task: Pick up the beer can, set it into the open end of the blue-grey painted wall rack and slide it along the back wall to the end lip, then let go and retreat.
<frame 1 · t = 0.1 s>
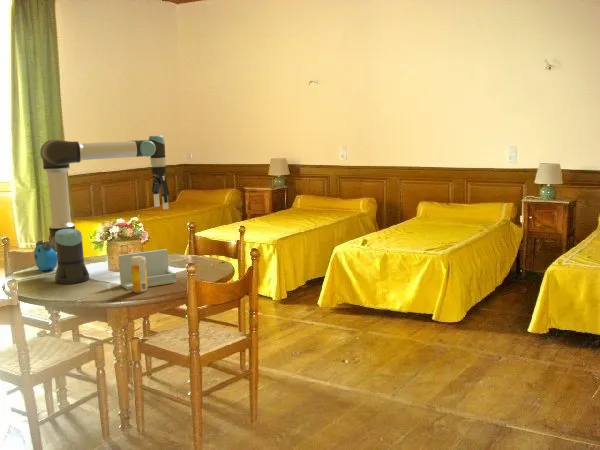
hand: (161, 207, 339), 28 cm above the table, fingers open, 13 cm apart
alarm clock: (46, 270, 332), on the table
beer can: (140, 291, 283), on the table
rack: (148, 283, 296), on the table
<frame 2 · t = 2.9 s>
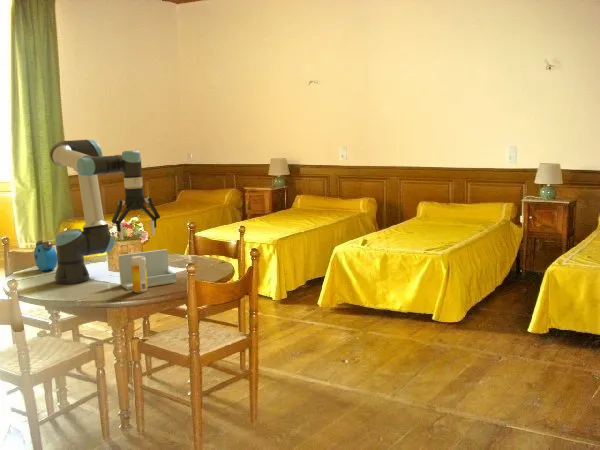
hand: (137, 237, 281), 23 cm above the table, fingers open, 13 cm apart
nothing on the table moved.
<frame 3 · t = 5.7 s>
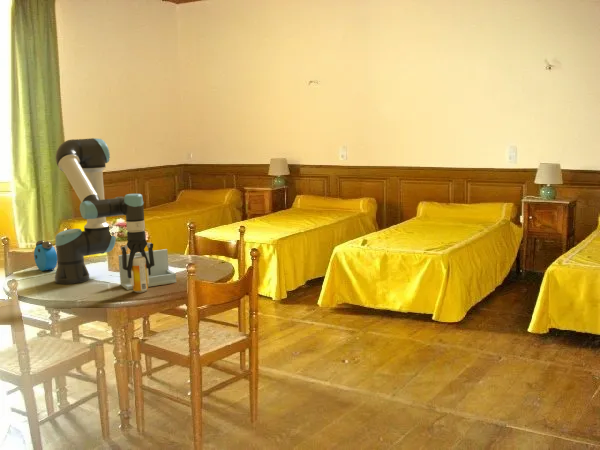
hand: (139, 284, 283), 3 cm above the table, fingers closed on beer can, 6 cm apart
beer can: (140, 291, 284), on the table, touching gripper
everything else where it was.
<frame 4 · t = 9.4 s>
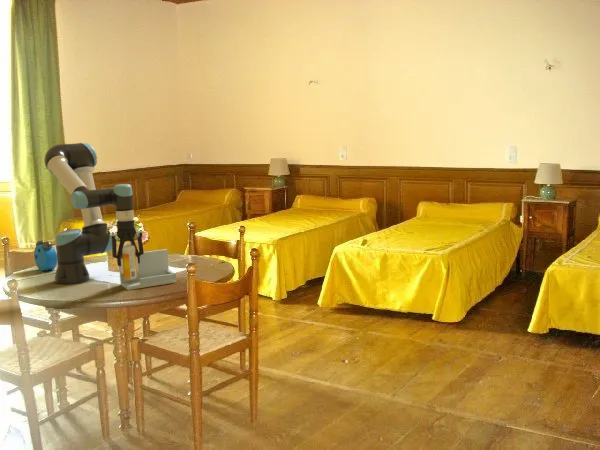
hand: (129, 271, 292), 6 cm above the table, fingers closed on beer can, 6 cm apart
beer can: (130, 279, 292), point 3 cm above the table, touching gripper
everything else where it was.
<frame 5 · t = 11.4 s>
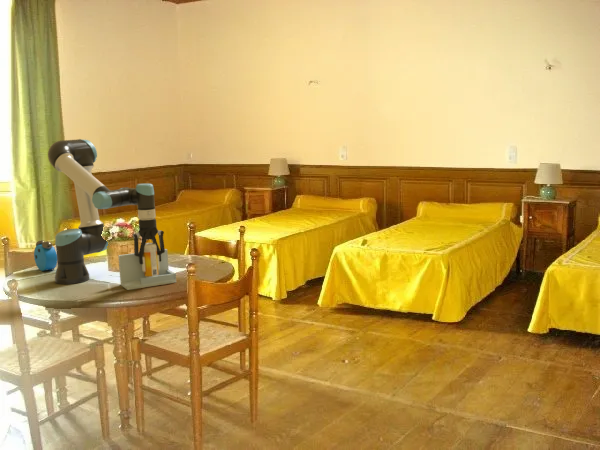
hand: (151, 269, 296), 6 cm above the table, fingers closed on beer can, 6 cm apart
beer can: (151, 277, 297), point 3 cm above the table, touching gripper
everything else where it was.
when the fingers open (6 cm above the table, at t = 13.3 s): beer can drops 1 cm, resting on rack.
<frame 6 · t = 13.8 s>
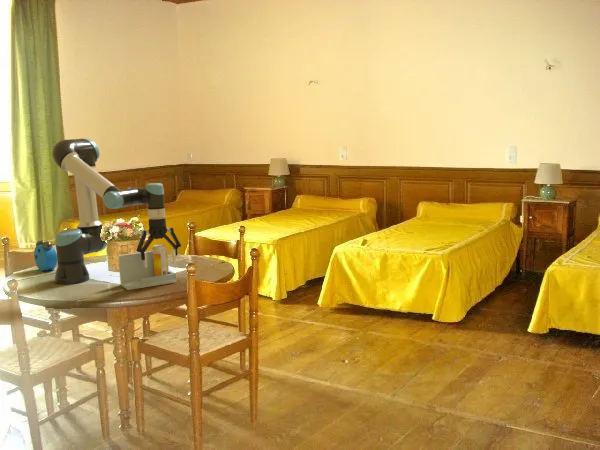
hand: (160, 265, 299), 8 cm above the table, fingers open, 13 cm apart
beer can: (161, 278, 300), point 1 cm above the table, touching rack
everything else where it was.
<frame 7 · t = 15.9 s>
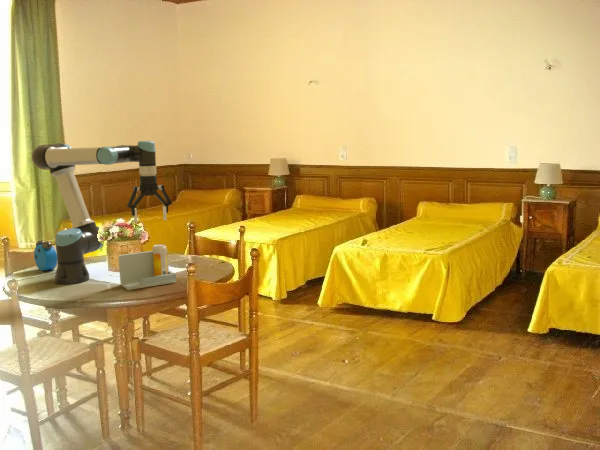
hand: (150, 221, 304), 26 cm above the table, fingers open, 13 cm apart
nothing on the table moved.
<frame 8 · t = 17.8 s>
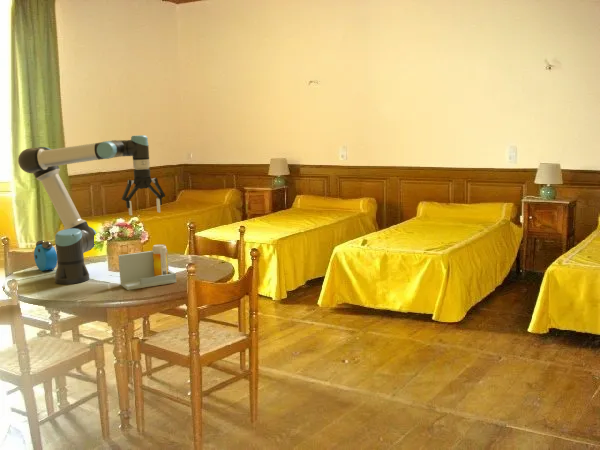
hand: (144, 213, 313), 29 cm above the table, fingers open, 13 cm apart
nothing on the table moved.
at the end: beer can inside the target area on the rack (0.8 cm from its centre), point 1.3 cm above the rack's base; beer can tilted 0°; the gripper is holding nothing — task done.
